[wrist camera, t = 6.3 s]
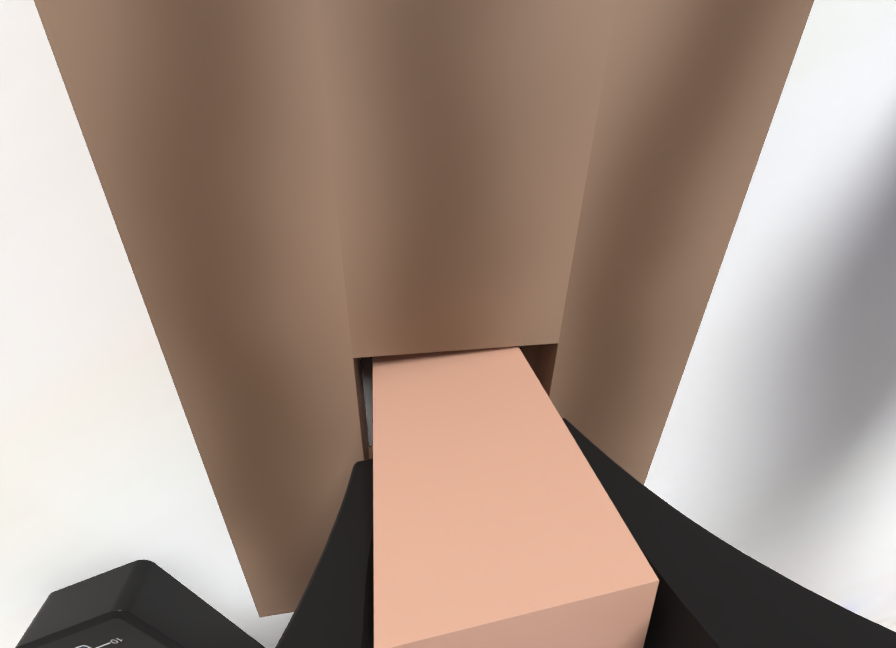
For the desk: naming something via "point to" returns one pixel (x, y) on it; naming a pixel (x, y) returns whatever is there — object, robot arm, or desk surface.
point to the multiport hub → (131, 615)
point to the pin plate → (414, 211)
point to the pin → (493, 515)
